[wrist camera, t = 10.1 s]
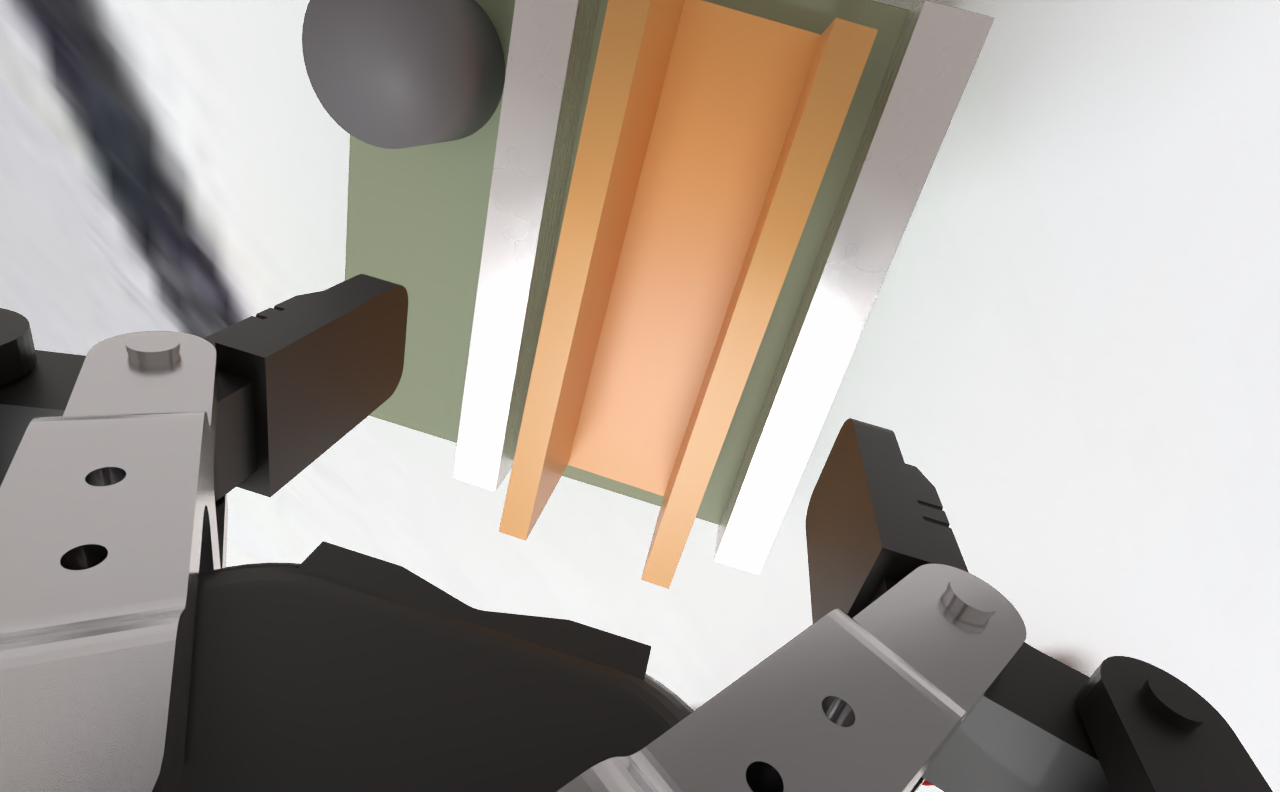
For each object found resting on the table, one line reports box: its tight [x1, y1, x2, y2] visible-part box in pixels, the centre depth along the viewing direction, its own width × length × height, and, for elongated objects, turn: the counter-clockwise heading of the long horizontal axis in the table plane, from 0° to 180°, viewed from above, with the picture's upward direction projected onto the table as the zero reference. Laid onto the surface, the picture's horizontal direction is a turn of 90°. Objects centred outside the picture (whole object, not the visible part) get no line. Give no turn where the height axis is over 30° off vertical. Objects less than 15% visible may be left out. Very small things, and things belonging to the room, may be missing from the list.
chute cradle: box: [453, 0, 994, 575], centre depth 19 cm, size 16×10×2 cm, turn 166°
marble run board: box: [302, 0, 908, 524], centre depth 20 cm, size 16×16×6 cm
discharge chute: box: [499, 0, 878, 589], centre depth 18 cm, size 14×5×5 cm, turn 165°
